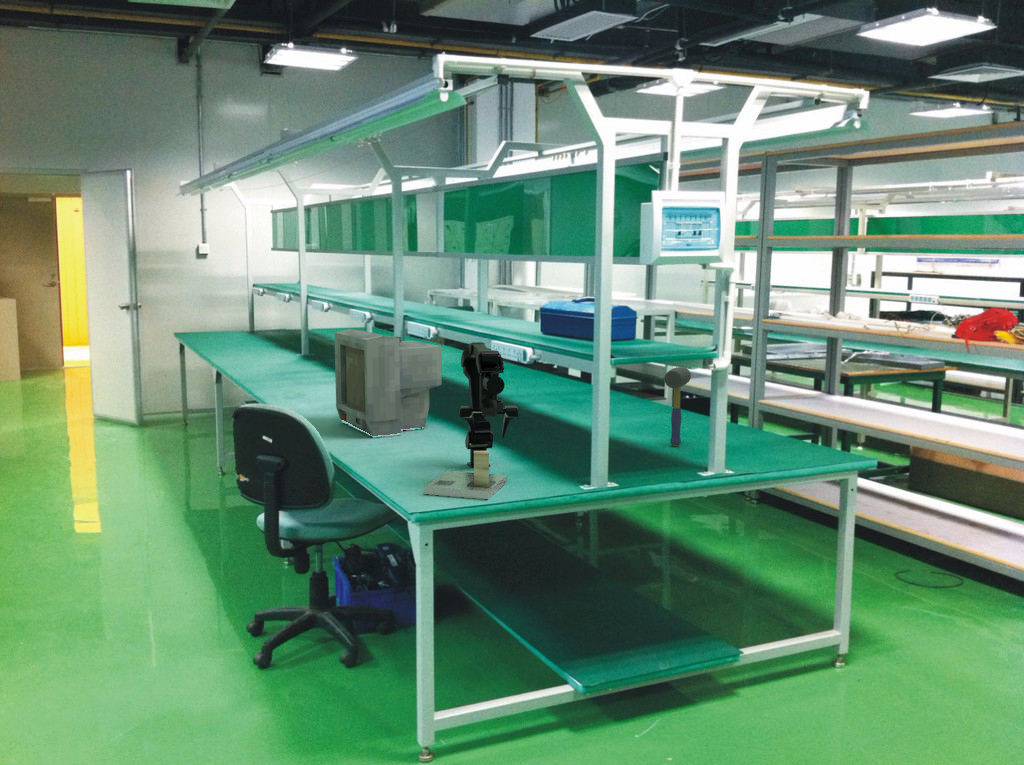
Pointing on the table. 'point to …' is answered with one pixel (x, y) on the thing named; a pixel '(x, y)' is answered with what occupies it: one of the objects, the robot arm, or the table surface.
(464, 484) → the pocket plate
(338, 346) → the crt television
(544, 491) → the table surface
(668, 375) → the rubber mallet
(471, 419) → the robot arm
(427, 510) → the table surface
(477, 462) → the maple post
